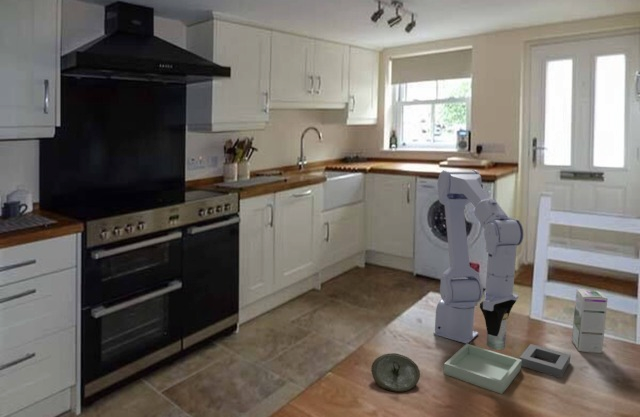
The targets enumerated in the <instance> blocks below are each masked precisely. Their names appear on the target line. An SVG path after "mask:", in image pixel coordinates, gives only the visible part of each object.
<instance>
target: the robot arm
mask: <svg viewBox="0 0 640 417" xmlns="http://www.w3.org/2000/svg"><path fill="white" fill-rule="evenodd" d="M482 183H483V182H482V176H481V174H480V172H479V171H478V170H476V169H473V170H447V169H446V170H445V169H444V170H442V171H441V172H440V173H439V175H438V179H437V193H438V194H437V195H438V199H439V200H438V202H439V203H440V204H441V205H443V206H444V215H445V225H446V236H447V245H448V246H447V248H448V256H449V267H448V268H447V269H446V270H445V271H444V272H442V274H441V275H440V285H439V294H440V298H441V299H440V300H439V301H438V303H437V305H436V310H435V318H434V320H435V323H434V331H433V335H434V336H438V337H439V336H440V337H441V338H446V339H449V340H452V341H455V342H459V343H463V344H464V345H466V344H469V343H471V341H472V340H473V339H475V338H476V337H477V336H478V335H479V332H478V331H474V320H475V309H476V308H475V307H478V303H479V302H480V303H479V309H480V311H481V312H482V315H483V318H484V321H485V327H486V331H487V333H488V334H489V335H493V336H498V334H499V331H500V327H501V322H502V319H503V316H504V314H505V313H506V312H507V313H508V318H507V320H508V319H509V316H510V313H511V310H512V308H513V307H514V305H515V304H516V302H517V300H518V299H519V294H515V293H514V284H515V283H514V282H515V274H516V273H515V272H516V258H517V248H518V247H517V246H520V245H521V244H522V243H523V240H524V236H525V233H524V228H523V225H522V223H521V221H520V220H519V219H518V218H513V217H509V216H508V215H507V214H506V212H505V211H504V210H503V208H502V207H501V206H500V204H499V203H498V202H497V200H496V199H492V198H491V199H490V198H489V197H488V196H487V194H486V192H485V190H484V188H483V187H482ZM468 204H472V205H473V206H474V207H475V208H474V210H473V212H474V216H475V217H476V219H477V220H478V222H479V223H480V225H481V226H482V228H483V229H484V232H483V234H484V236H483V237H484V240H485V249H486V253H487V266H486V281H485V290H484V288H483V284H482V281H481V277H480V273H479V272H478V271H476V270H475V269H474V268H472V266H470V254H469V247H468V246H469V245H468V237H467V226H466V217H465V207H466V205H468ZM453 278H454V279H453ZM455 278H458V279H455ZM483 296H484V300H482V299H483ZM487 333H486V334H487Z"/></svg>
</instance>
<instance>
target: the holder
mask: <svg viewBox="0 0 640 417" xmlns="http://www.w3.org/2000/svg"><path fill="white" fill-rule="evenodd" d="M535 357H537V358H535ZM539 358H542V359H543V360H542V359H539ZM519 359H521V360H522V362H521V367H523V368H527V369H530V370H533V371H537V372H540V373H543V374H547V375H550V376H553V377H557V378H559V379H560V378H561V379H562V377H563V375H564V374H565V371H566V370H567V368H568V366H569V365H570V364H571V363H570V362H571V354H569V353H566V352H561V351H558V350H555V349H551V348H547V347H543V346H541V345H536V344H532V343H530V344H529V345H528V347H527V348H526V349H525V350H524V351H523V353H521V355H520V356H519ZM546 360H548V361H549V362H548V361H546ZM550 361H552V362H550ZM553 362H555V363H553Z"/></svg>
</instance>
